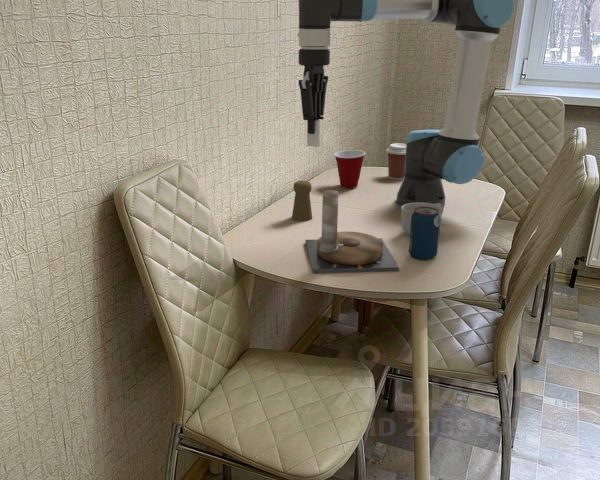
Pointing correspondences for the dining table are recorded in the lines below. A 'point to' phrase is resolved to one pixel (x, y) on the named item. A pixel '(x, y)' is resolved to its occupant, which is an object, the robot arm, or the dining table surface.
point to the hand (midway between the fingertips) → (313, 145)
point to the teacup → (409, 210)
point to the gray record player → (324, 266)
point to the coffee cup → (396, 161)
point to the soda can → (424, 233)
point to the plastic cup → (349, 167)
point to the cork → (302, 201)
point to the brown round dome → (344, 238)
